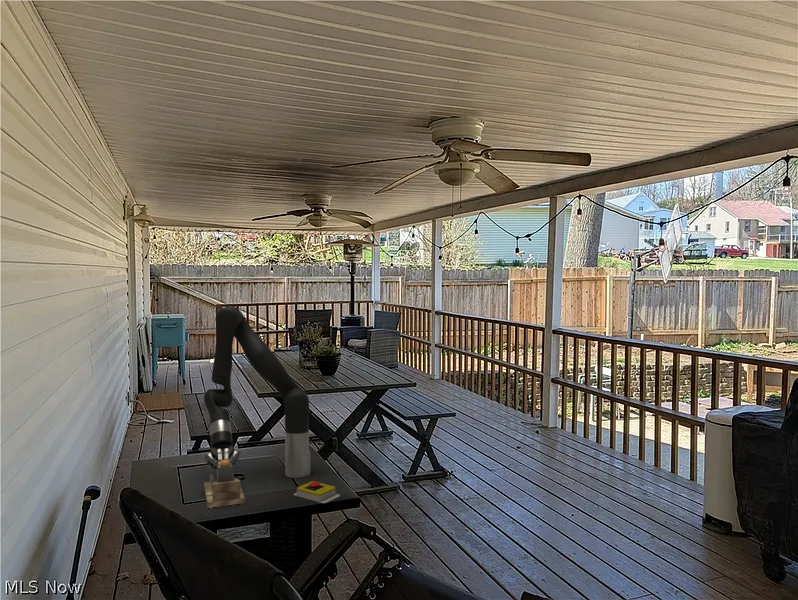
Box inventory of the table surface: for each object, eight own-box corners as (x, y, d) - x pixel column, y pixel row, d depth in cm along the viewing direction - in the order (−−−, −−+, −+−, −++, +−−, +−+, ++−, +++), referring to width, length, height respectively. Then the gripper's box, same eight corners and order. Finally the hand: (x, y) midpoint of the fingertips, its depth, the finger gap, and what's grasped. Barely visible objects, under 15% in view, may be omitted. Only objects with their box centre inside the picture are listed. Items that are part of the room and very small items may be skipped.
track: (237, 484, 214) (237, 462, 214) (244, 503, 195) (244, 480, 195) (204, 488, 210) (204, 466, 210) (207, 508, 190) (207, 485, 190)
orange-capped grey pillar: (231, 491, 200) (231, 458, 200) (233, 495, 197) (233, 461, 196) (217, 493, 199) (216, 460, 198) (218, 497, 195) (217, 463, 195)
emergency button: (309, 476, 211) (341, 484, 203) (309, 488, 211) (341, 496, 203) (292, 484, 203) (324, 492, 195) (292, 496, 204) (324, 505, 195)
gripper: (202, 431, 206) (204, 475, 195) (240, 428, 211) (244, 471, 200) (201, 442, 211) (204, 486, 200) (238, 438, 216) (242, 481, 205)
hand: (224, 478), depth 200 cm, fingers closed
